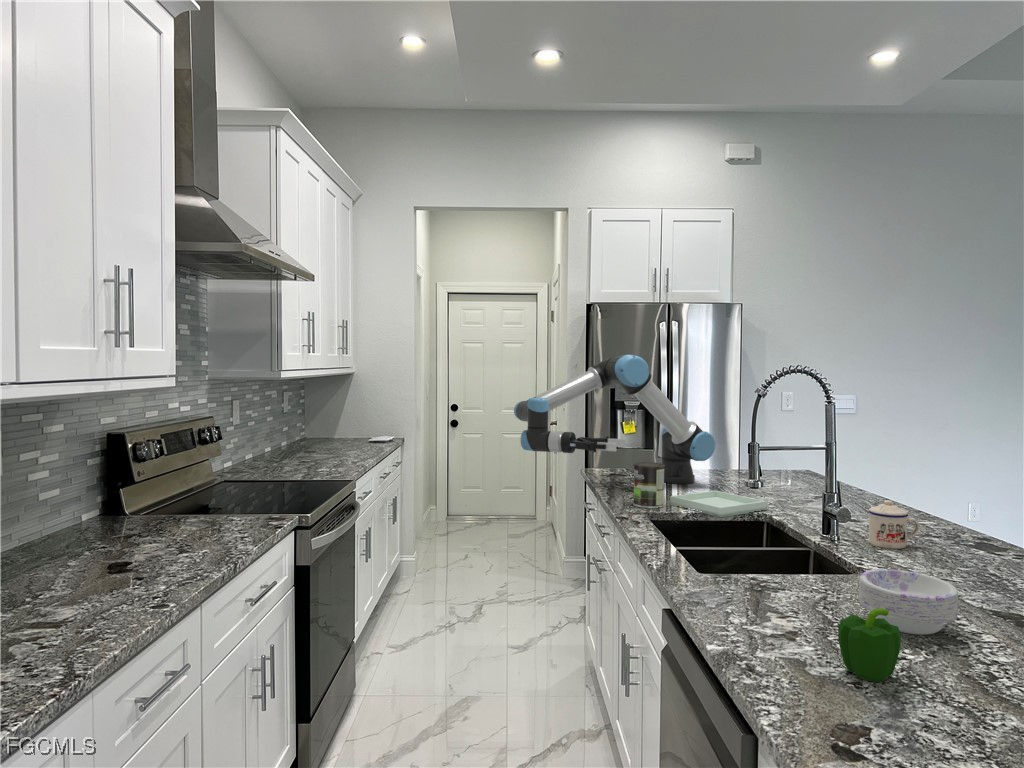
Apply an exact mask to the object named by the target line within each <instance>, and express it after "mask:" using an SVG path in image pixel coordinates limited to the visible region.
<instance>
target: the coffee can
mask: <svg viewBox="0 0 1024 768" xmlns="http://www.w3.org/2000/svg"><path fill="white" fill-rule="evenodd" d="M661 463H662V462H649V461H648V462H647V461H638V462H634V463H633V504H632V505H633V506H634V507H636V508H642V509H659V508H658V507H662V506H665V505H664V504H665V503H664V502H665V501H664V495H665V493H664V491H665V487H664V485H665V482H664V467H665V465H664V464H661ZM662 508H663V507H662Z"/></svg>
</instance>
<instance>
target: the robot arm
mask: <svg viewBox="0 0 1024 768" xmlns="http://www.w3.org/2000/svg"><path fill="white" fill-rule="evenodd" d="M649 370H650V369H649V365H648V363H647V361H646V360H645V359H644V358H642V357H641V356H638V355H634V354H623V355H612V356H609V357H607V358H605V359H603V360H602V361H600V362H598V363H596V364H594V365H591V366H590V367H588V369H587V371H585V372H583V373H581V374H580V375H577V376H575V377H572V378H571V379H568V380H566V381H565V382H562V383H560V384H558V385H556V386H554V387H552V388H550V389H548V390H546V391H544V392H542V393H540V394H538V395H535V396H533V397H530V398H528V399H527V400H521V401H519V402H517V403H516V404H515V405H514V409H513V415H514V416H515V418H516V419H518V420H520V421H521V422H527V429H524V430H522V432H521V435H520V436H521V437H520V446H521V448H522V449H523V450H524V451H530V452H544V453H546V452H547V453H553V454H554V455H557V453H563V454H573V453H575V451H576V450H584V451H590V452H592V453H597V451H600V452H601V451H603V452H617V447H618V448H626V447H627V439H624V438H609V436H605V437H585V436H584V437H583V436H579V437H576V434H575V433H574V432H573V431H562V430H561V431H555V430H554V431H553V430H549V412H551V411H553V410H554V409H557V408H558V407H561V406H563V405H565V404H566V403H569V402H571V401H573V400H575V399H577V398H579V397H581V396H584V395H585V394H587V393H590V392H591V391H594V390H602V389H604V388H606V387H611V386H620V387H621V388H622V389H623V390H624V392H625V393H626V394H627V395H628V396H634V397H635V398H636V399H637V400H638V401H639V402H640V403H641V404H642V405H643V406H644V407H645V409H647V411H648V412H649V413H650V414H651V415H652V416H653V417H654V418H655V419H656V420H657V421H658V422H659V423H660V425H662V427H663V428H661V429H662V431H661V462H660V463H661V464H664V465H665V467H664V483H665V482H667V483H668V484H675V485H676V484H680V485H681V484H692V483H695V482H696V479H695V477H696V476H695V474H694V471H693V467H692V464H691V461H692V460H693V461H695V462H705V461H707V460H709V459H710V458H711V457H712V456H713V454H714V453H715V450H716V440H715V437H714V436H713V434H711V432H708V431H704V430H702V428H701V427H699V425H698V424H697V423H696V422H695V421H689V420H688V419H687V418H686V417H685V416H684V415H683V413H682V412H681V411H680V410H679V409H678V408H677V407H676V406H675V405H674V404H673V403H672V401H670V399H669V398H668V397H667V396H666V395H665V394H664V393H663V392H662V390H660V388H659V387H658V386H657V385H656V384H655V383H654V382H653V380H652V379H653V375H652V373H651V372H650V371H649ZM667 483H666V484H667Z"/></svg>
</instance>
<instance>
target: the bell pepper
mask: <svg viewBox="0 0 1024 768" xmlns="http://www.w3.org/2000/svg"><path fill="white" fill-rule="evenodd" d="M888 613H889V611H888V610H886V609H882V608H880V609H874V610H873V611H869V613H868V616H867V618H866V619H865V618H862V617H861V616H859V615H858V614H857V615H856V614H852V613H851V614H850V615H848V616H847V617H845V618H843V619H842V618H841V620H840V622H839V624H838V625H837V637H838V638H837V640H838V644H839V650H840V653H841V658H842V663H843V664H844V666H845V668H846V670H848V671H849V672H850V673H854V675H855V676H857V677H858V678H859V679H861V680H863V681H868V682H874V683H876V682H877V683H882V682H884V681H886V680H887V679H888V678H890V677H891V676H892V675H893V673H894V671H895V668H896V665H897V662H898V659H899V656H900V655H899V654H900V651H901V647H902V632H900V631H899V628H898V626H894V625H891V624H889V623H888V622H887V621H886V620H885V619H882V618H876V617H877V616H878V615H884V616H887V615H888Z"/></svg>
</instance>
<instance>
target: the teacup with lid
mask: <svg viewBox="0 0 1024 768" xmlns="http://www.w3.org/2000/svg"><path fill="white" fill-rule="evenodd" d="M868 514H869V515H868V517H869V519H868V521H869V522H868V527H869V528H868V543H869V544H870V545H872V546H874V547H879V548H884V549H891V550H892V549H893V550H894V549H895V550H899V549H905V548H906V547H907V545H908V542H907V541H908V540H907V539H908V538H912V537H915V536H916V535H917V534H918V533H919V531H920V523H919V521H918V520H916V519H915V518H912V517H909V513H908V511H907V510H905V509H902V508H900V507H898V506H897V505H896V504H893V501H892V500H888V499H886V500H884V501H883V503H880V504H878V505H877V506H871V507H870V508H869V509H868ZM908 522H912V523H914V524H915V528H914V530H913V531H912V532H910V533H908Z"/></svg>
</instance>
